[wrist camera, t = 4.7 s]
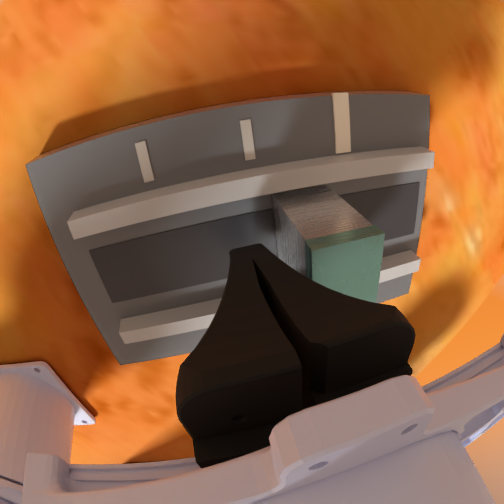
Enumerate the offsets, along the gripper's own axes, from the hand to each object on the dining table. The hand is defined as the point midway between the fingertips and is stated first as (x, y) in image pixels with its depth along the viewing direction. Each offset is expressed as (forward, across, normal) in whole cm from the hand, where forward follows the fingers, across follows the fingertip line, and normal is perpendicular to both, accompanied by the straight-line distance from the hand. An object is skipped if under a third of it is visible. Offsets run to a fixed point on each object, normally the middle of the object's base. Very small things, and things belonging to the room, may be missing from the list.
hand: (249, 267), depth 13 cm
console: (+3, -1, 0) cm, 3 cm away
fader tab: (+2, -3, 0) cm, 3 cm away
